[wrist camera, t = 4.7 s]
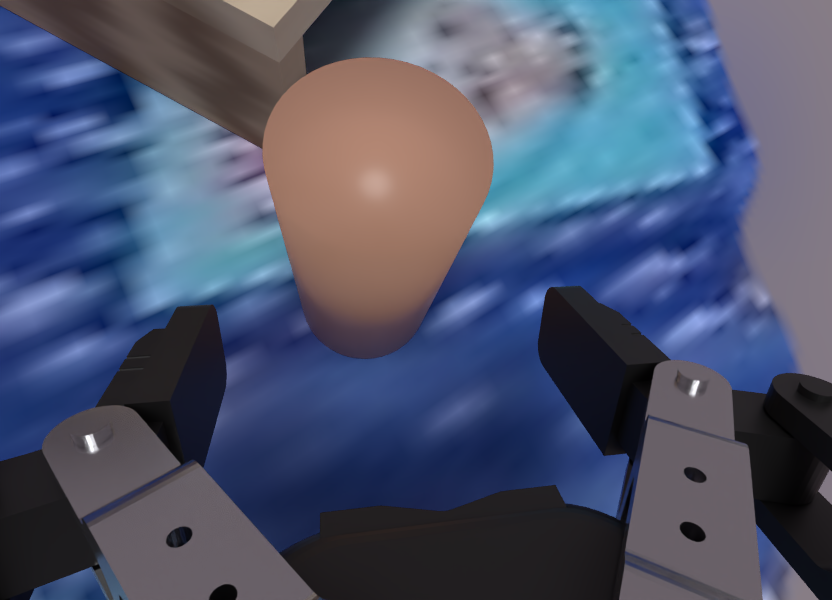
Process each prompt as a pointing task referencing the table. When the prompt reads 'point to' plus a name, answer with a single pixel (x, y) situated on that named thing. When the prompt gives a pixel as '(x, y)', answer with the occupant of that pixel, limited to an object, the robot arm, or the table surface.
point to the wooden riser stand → (192, 49)
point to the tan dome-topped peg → (373, 195)
